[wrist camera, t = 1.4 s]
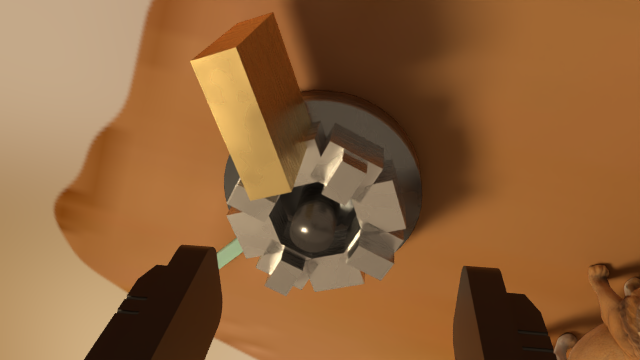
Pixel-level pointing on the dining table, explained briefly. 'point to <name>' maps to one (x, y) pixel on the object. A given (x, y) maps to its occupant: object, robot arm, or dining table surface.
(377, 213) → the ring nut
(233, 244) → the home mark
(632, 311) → the lion figurine
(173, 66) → the dining table surface
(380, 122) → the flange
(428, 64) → the dining table surface
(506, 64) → the dining table surface
